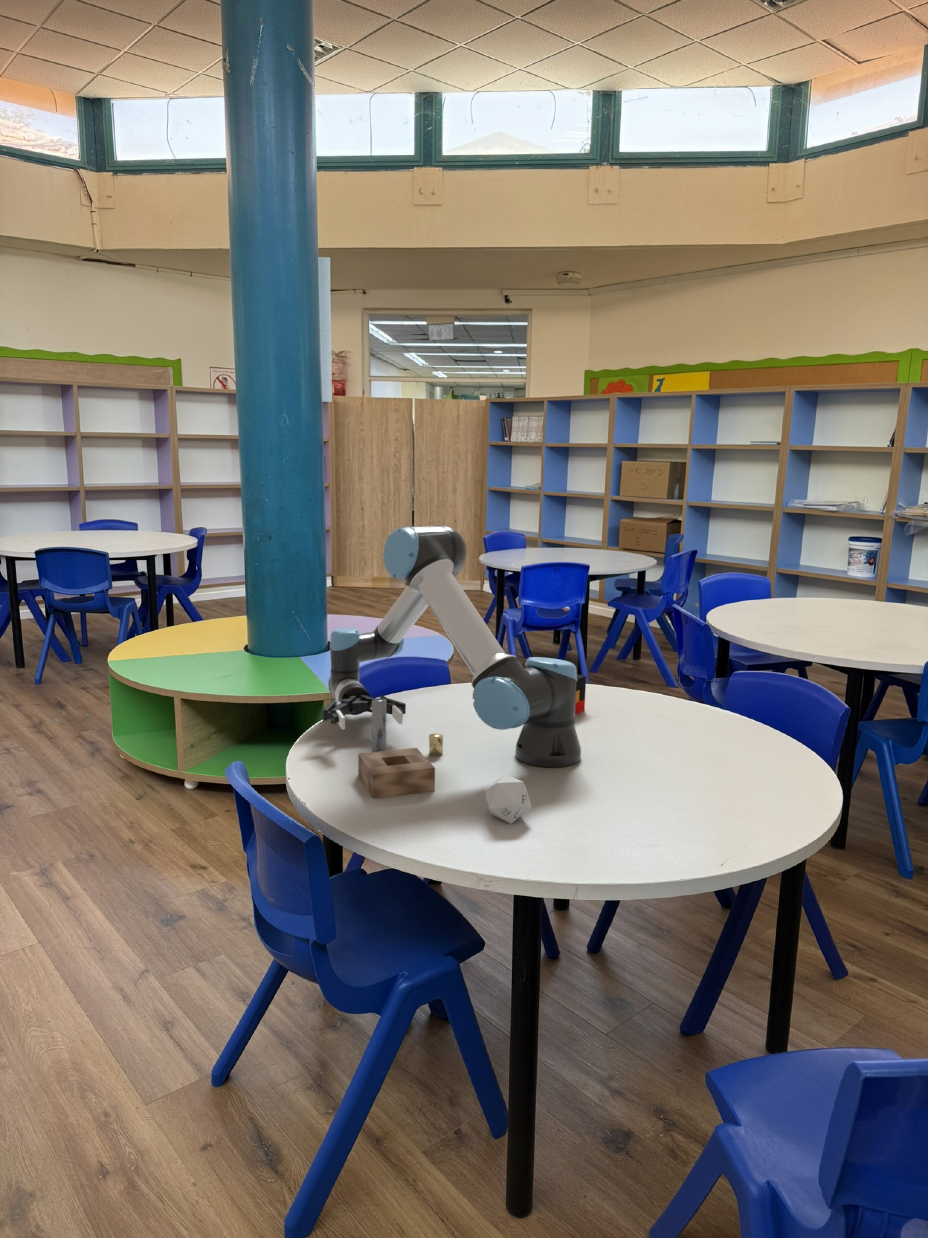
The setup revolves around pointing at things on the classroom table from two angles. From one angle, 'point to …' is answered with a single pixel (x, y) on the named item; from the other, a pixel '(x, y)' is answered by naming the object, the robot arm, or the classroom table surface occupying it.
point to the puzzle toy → (580, 694)
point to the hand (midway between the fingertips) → (372, 721)
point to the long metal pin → (378, 725)
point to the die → (508, 798)
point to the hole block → (396, 772)
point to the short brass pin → (435, 744)
